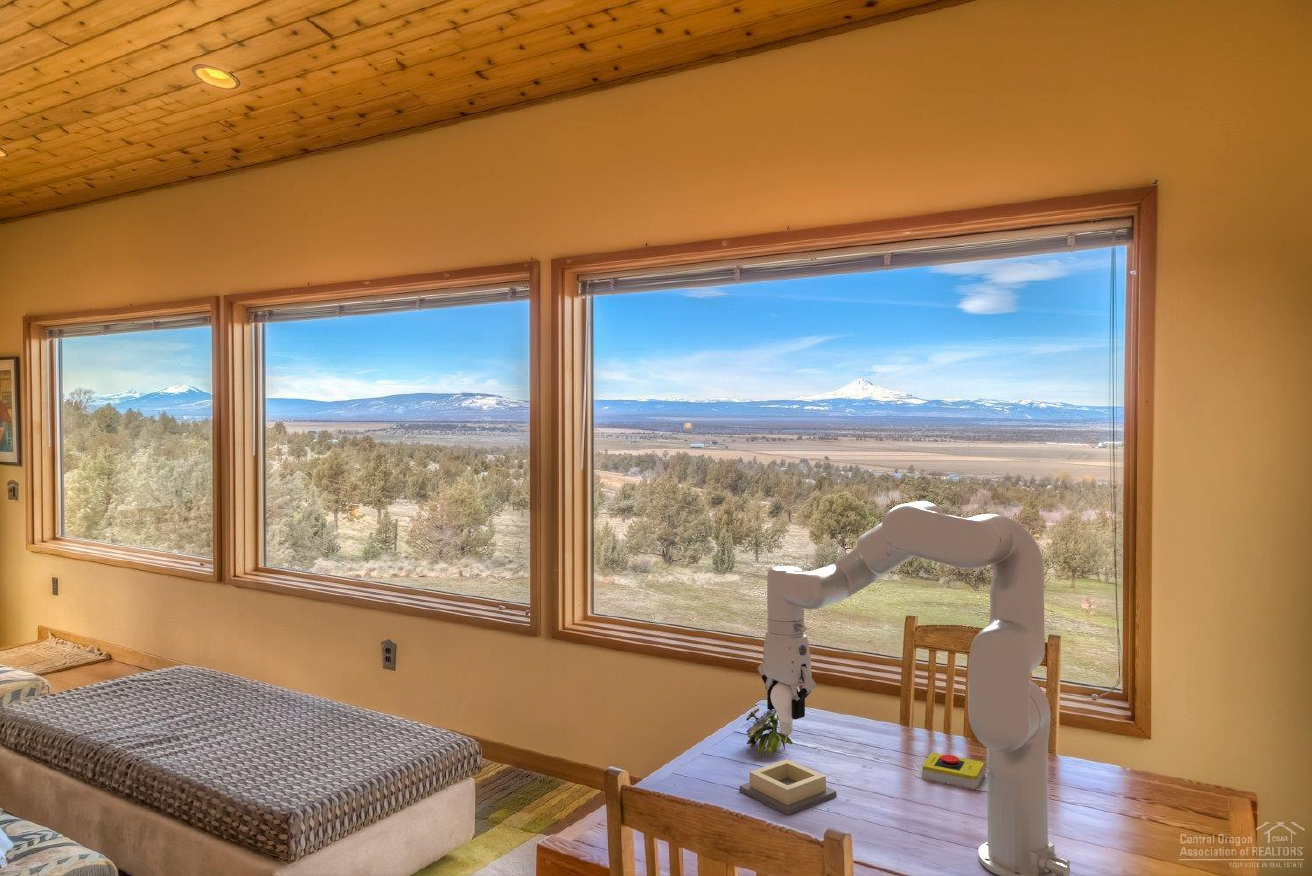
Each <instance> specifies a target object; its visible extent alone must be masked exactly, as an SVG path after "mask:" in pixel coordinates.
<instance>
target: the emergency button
mask: <svg viewBox="0 0 1312 876" xmlns="http://www.w3.org/2000/svg"><path fill="white" fill-rule="evenodd" d="M984 764H985V763H984V762H983V761H979V760H975V759H969V758H964V757H958V756H956V755H954V754H943V753H937V752H931V753H930V754H929V755H928V757H927V758H926V760H925V761H924V762H923V763H922V766H920V768H919V769H918V771H917V772H916V773H915V775H914V777H915V776H916V777H915V778H917V777H918V779H921V778H922V780H926V779H927V781H931V780H932V781H931V782H935V781H936V783H940V782H944V783H943V784H945V783H949V784H948V785H950V784H952V785H951V786H954V785H956V787H960V788H964V789H970V790H974V789H976V790H975V791H978V790H980V791H979V792H986V793H987V777H985V775H987V773H985V765H984ZM920 775H921V776H920Z"/></svg>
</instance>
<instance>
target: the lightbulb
mask: <svg viewBox="0 0 1312 876" xmlns="http://www.w3.org/2000/svg"><path fill="white" fill-rule="evenodd" d="M797 689H798V692H799V691H800V688H799V686H797ZM770 698H771V702H772V705H773V706H774V708H775V709H776V713H777V714H778V718H779V720H778V723H779V733H782V734H783V735H788V736H789V735H791V734H793V731H794V730H793V722H794V719H792V699H794V696H793V693H792V689H791V686H790V685H788V684H785V683H782V682H779V683H777V684H776V685H775V686H774V687H773V689H772V691H771V695H770Z"/></svg>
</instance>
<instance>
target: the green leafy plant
mask: <svg viewBox="0 0 1312 876" xmlns="http://www.w3.org/2000/svg"><path fill="white" fill-rule="evenodd" d="M759 711H760V708H759V707H758V708H755V709H754V710H753V711H750V713H749V715H748V716H747V717H746V720H745V721H749V720H750V719H752V718H754V719H755V722H753V725H751V726H750V727H749V728H748V729H747V730H746V731H745V732H746V736H748V738H749V739H748V740H747V741H746V745H748V746H749V745H751V746H755V745H756V744H757V743H758V744H757V745H758V746H757V754H758V755H759V756H760V758H763V757H764V756H763V755H764V751H765V754H766V756H769V755H771V754H772V753H776V752H778V750H780V748H781V746H783V749H784V750H786V744H788V745H793V741H792V739H791V738H790V737H789V735H783V734H782V733H780V732H778V730H777V728H778V725H779V718H778V714H777V715H776V713H777V711H776V709H772V710H768V709H767V711H766V712H764V713H763V715H761V716H760V717H757V716H756V714H757V713H758V712H759ZM766 731H768V732H766ZM764 732H766V733H764Z"/></svg>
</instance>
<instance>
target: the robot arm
mask: <svg viewBox="0 0 1312 876" xmlns="http://www.w3.org/2000/svg"><path fill="white" fill-rule="evenodd" d="M915 557H917V558H919V559H920V558H921V559H924V560H928V561H932V562H935V563H939V564H943V565H947V566H951V567H954V568H958V569H965V570H966V569H967V570H976V569H981V568H984V567H987V566H989V565H991V569H992V576H991V582H990V589H989V590H990V591H989V598H990V599H989V600H990V601H989V602H990V603H989V604H990V608H989V609H990V610H989V621H988V625H987V626H985V627H984V628H982V629H981V630H980V631H979V632H978V633H977V634H976V635H975V637H974V638H973V640H972V641H971V645H970V648H969V654H968V681H967V683H968V684H967V685H968V692H967V694H968V697H967V698H968V703H967V706H968V708H967V710H968V721H969V724H970V728H971V730H972V732H973V734H974V737H976V739H977V740H978V741H979V742H980V743H981V745H983V746H985V747H986V748H987V749H986V750H987V751H986V752H987V753H986V774H987V791H986V794H987V796H986V797H987V799H986V800H987V801H986V802H987V804H986V805H987V807H986V808H987V841H986V842H984V843H983V844H981V845H980V846H979V848H978V850H977V854H978V855H977V857H978V858H977V859H978V860H979V862H980V863H981V865H982V866H983V867H985V869H986V870H988V871H989V872H990V873H992V874H994V875H997V876H1070V874H1071V868H1070V867H1071V861H1070V860H1068V859H1066V858H1064V857H1062V856H1061V857H1060V856H1058V855H1057V853H1055V844H1054V843H1052V842H1050V841H1049V819H1048V818H1049V817H1048V815H1049V813H1048V812H1049V810H1048V809H1049V808H1048V807H1049V806H1048V805H1049V804H1048V799H1049V798H1048V794H1049V793H1048V776H1049V775H1048V774H1049V773H1048V758H1049V757H1048V751H1049V739H1050V731H1051V730H1050V729H1051V728H1050V727H1051V707H1050V703H1049V700H1048V697H1047V695H1046V694H1045V692H1044V691H1043V690H1042V688H1041V687H1039V685H1038V684H1036V683H1035V682H1034V681H1032V680H1030V678H1031V674H1032V672H1033V671H1035V670H1036V669H1037V668H1038V667H1039V666H1040V665H1041V664H1042V662H1043V660H1044V658H1045V653H1046V652H1045V650H1046V643H1045V642H1046V640H1045V592H1044V591H1045V589H1044V588H1045V584H1044V583H1045V578H1044V577H1045V571H1044V562H1043V558H1042V553H1041V550H1040V547H1039V545H1038V543H1037V541H1036V540H1035V538H1034V537H1033V535H1032V534H1031V533H1030V532H1029V531H1028V529H1026V527H1024V526H1022V525H1021V524H1020V523H1018V522H1017V521H1015V520H1014V519H1011V518H1010V517H1008V516H1005V515H1001V514H997V513H985V514H984V513H983V514H978V515H974V516H971V517H967V518H965V517H960V516H955V515H950V514H945V513H944V511H943V510H942V509H941V507H940V506H938V505H936V504H934V503H932V502H929V501H925V500H921V501H920V500H919V501H913V502H908V503H902V504H899V505H896V506H894V507H893V508H891V509H890V510H889V511H888V512H887V513H886V514H885V516H884V517H883V520H882V522H881V523H879V524H877V525H875V526H874V527H872V528H871V529H869V530H868V531H866V532H864V533H863V534H861V535H860V536H859V537H858V539H857V540H856V547H855V548H854V549H853V550H852V551H850V552H849V553H847V554H846V555H844V556H842V557H841V558H840V559H838V560H836V561H834V562H833V563H831V564H829V565H826V566H824V567H819V568H816V569H811V570H807V571H804V570H803V569H802V568H800V567H798V566H794V565H776V566H775V565H774V566H772V567H770V568H769V569H768V571H767V575H766V581H767V583H766V586H767V587H766V588H767V589H766V593H767V594H766V595H767V596H766V597H767V598H766V599H767V601H766V604H767V606H766V607H767V611H766V612H767V613H766V614H767V617H766V618H767V621H766V622H767V623H766V624H767V626H766V627H767V630H766V631H765V636H764V642H763V654H762V655H763V656H762V662H761V663H760V664H759V665H758V667H757V671H758V673H759V675H760V676H761V679H762V681H763V683H764V688H765V690H766V693H767V694H766V695H767V696H766V697H767V701H766V702H767V703H766V707H767V711H768V710H774V709H775V708H774V706H773V705H772V702H771V698H770V695H771V691H772V689H773V687H774V686H775V685H776V684H777V683H779V682H782V683H785V684H788V685H790V686H791V689H792V693H793V696H794V699H792V719H793V721H794V720H795V721H796V720H798V719H802V718H805V715H806V699H807V698H809V697H808V696H809V695H810V694H811V693H812V692H813V690H814V689H815V688H816V687H817V685H816V682H815V680H814V679H813V676H812V659H811V650H810V645H809V644H810V643H809V640H808V639H809V638H808V636H807V634H805V633H806V631H807V626H806V625H805V609H807V610H814V611H815V610H819V609H822V608H825V607H828V606H830V605H833V604H837V603H839V602H841V601H843V600H846V599H848V598H850V597H851V596H853V595H854V594H856V593H857V592H860V591H861V590H863V589H864V588H867V587H868V586H869V585H871V584H873V583H874V582H876V581H877V580H878V579H881V578H883V577H885V576H886V575H887V574H889V573H890V572H892V571H893V570H895V569H897V568H899V567H900V566H902V565H903V564H904V563H907V562H908V561H910V560H911V559H913V558H915ZM797 687H798V688H799V690H800V691H799V692H798V689H797Z"/></svg>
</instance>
